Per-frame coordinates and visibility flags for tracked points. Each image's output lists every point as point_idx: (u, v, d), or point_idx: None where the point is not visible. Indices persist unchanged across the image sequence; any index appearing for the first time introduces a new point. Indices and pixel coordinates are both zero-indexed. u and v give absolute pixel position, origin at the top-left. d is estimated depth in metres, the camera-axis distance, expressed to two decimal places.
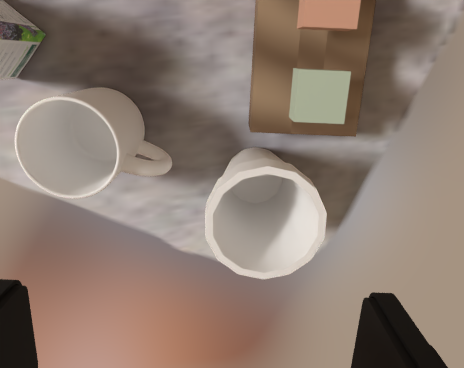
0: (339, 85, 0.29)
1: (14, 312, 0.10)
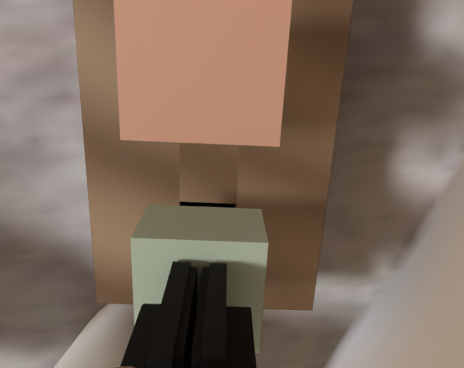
0: (241, 274, 0.12)
1: (195, 289, 0.11)
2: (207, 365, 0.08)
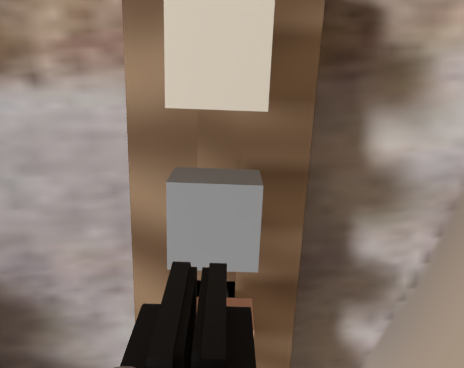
0: None
1: (195, 289, 0.11)
2: (207, 365, 0.08)
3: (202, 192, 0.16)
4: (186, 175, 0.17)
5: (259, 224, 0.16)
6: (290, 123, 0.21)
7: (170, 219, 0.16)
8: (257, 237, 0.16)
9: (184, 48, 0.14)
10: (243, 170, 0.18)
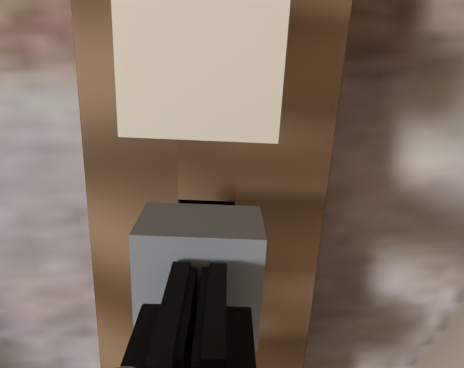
0: None
1: (195, 289, 0.11)
2: (207, 365, 0.08)
3: (181, 249, 0.11)
4: (160, 219, 0.12)
5: (260, 290, 0.12)
6: (302, 141, 0.15)
7: (137, 283, 0.12)
8: (257, 307, 0.12)
9: (146, 43, 0.09)
10: (238, 207, 0.13)
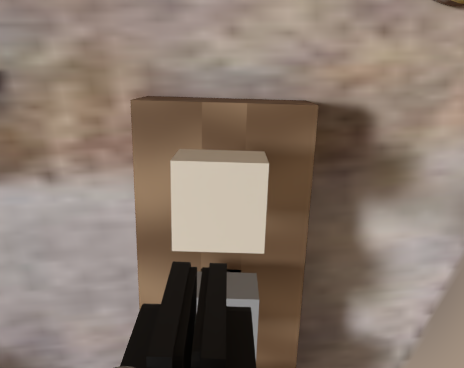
0: None
1: (195, 290, 0.11)
2: (207, 365, 0.08)
3: None
4: None
5: (256, 330, 0.19)
6: (286, 229, 0.22)
7: None
8: (254, 340, 0.19)
9: (189, 202, 0.16)
10: (242, 274, 0.21)
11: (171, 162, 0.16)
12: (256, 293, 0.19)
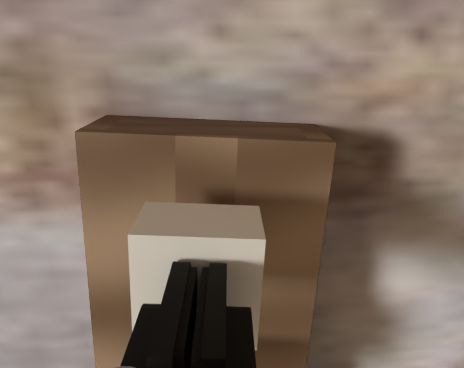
0: None
1: (195, 289, 0.11)
2: (207, 365, 0.08)
3: None
4: None
5: None
6: (287, 298, 0.17)
7: None
8: None
9: (154, 288, 0.12)
10: None
11: (128, 236, 0.11)
12: None
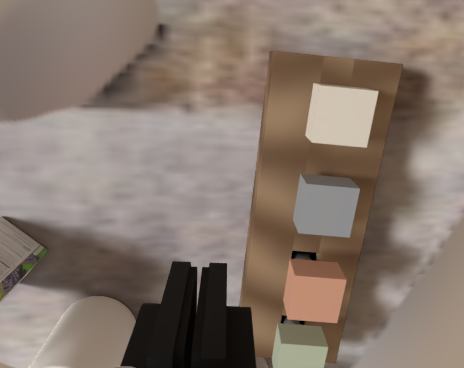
0: (317, 356, 0.33)
1: (195, 289, 0.11)
2: (207, 365, 0.08)
3: (325, 190, 0.28)
4: (312, 179, 0.29)
5: (354, 210, 0.29)
6: (368, 152, 0.32)
7: (305, 204, 0.29)
8: (352, 217, 0.29)
9: (327, 112, 0.27)
10: (341, 178, 0.31)
11: (320, 86, 0.26)
12: (356, 186, 0.29)
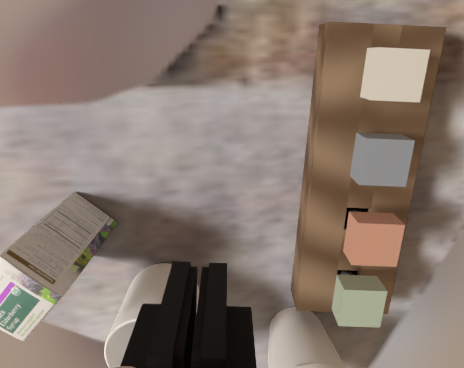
0: (377, 301, 0.36)
1: (195, 289, 0.11)
2: (207, 365, 0.08)
3: (384, 143, 0.31)
4: (370, 135, 0.32)
5: (410, 160, 0.32)
6: (415, 111, 0.35)
7: (365, 157, 0.32)
8: (408, 167, 0.32)
9: (384, 71, 0.30)
10: (393, 134, 0.34)
11: (377, 48, 0.30)
12: (410, 139, 0.32)
